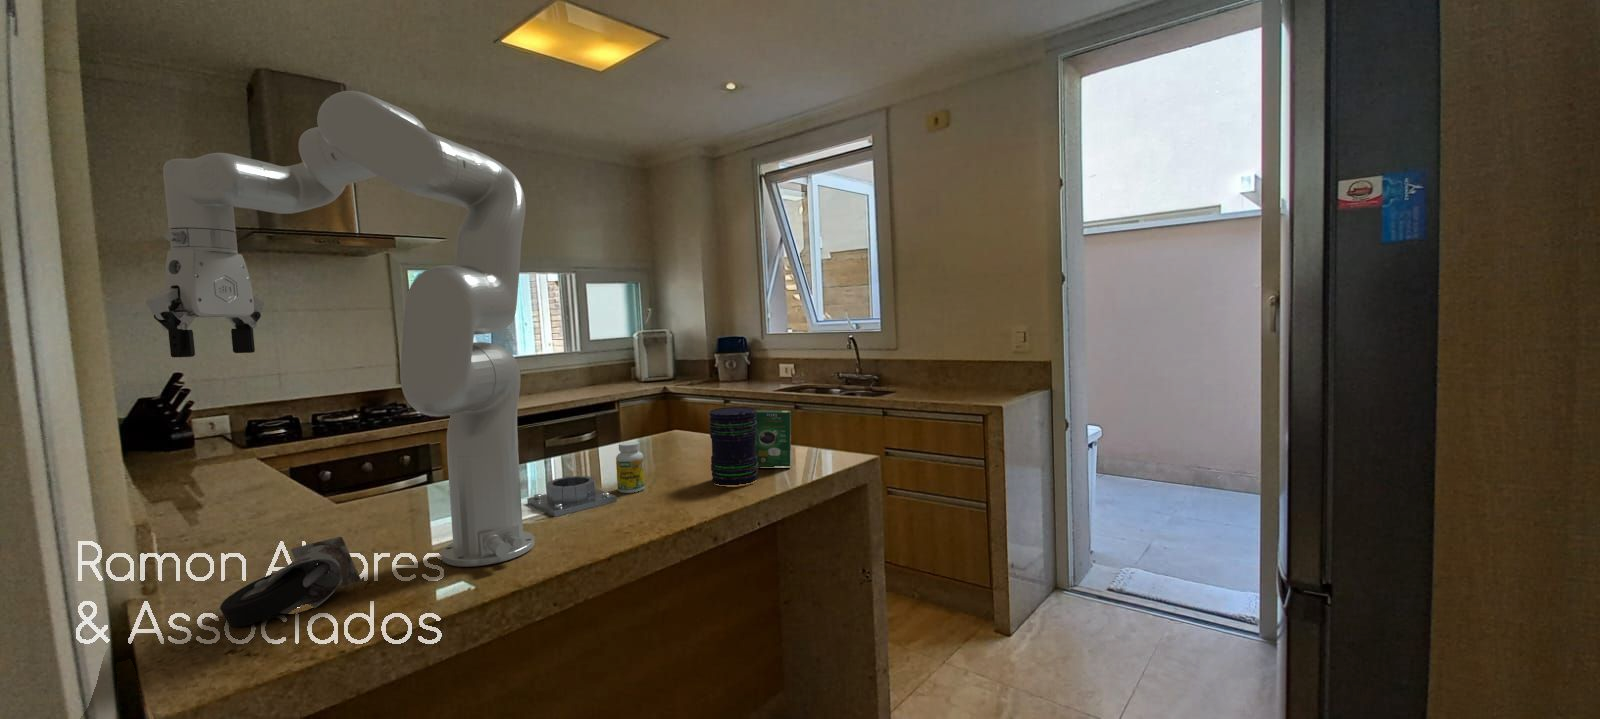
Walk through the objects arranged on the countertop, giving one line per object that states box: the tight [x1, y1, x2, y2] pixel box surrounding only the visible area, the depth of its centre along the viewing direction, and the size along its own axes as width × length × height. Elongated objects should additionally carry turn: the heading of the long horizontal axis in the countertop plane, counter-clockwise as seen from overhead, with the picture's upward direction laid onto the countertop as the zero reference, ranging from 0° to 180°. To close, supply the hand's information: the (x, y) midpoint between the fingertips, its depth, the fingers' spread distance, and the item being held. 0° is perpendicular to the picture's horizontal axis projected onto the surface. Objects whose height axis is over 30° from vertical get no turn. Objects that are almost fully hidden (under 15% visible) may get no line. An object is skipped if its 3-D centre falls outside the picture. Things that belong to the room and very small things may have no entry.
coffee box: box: [755, 409, 792, 467], centre depth 143 cm, size 8×3×13 cm, turn 85°
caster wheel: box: [219, 536, 362, 628], centre depth 78 cm, size 7×11×10 cm
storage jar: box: [709, 406, 759, 485], centre depth 133 cm, size 10×10×15 cm
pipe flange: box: [526, 475, 618, 518], centre depth 121 cm, size 12×12×4 cm
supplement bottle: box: [615, 441, 646, 494], centre depth 128 cm, size 5×5×10 cm
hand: (215, 354), depth 99 cm, fingers open, 9 cm apart
